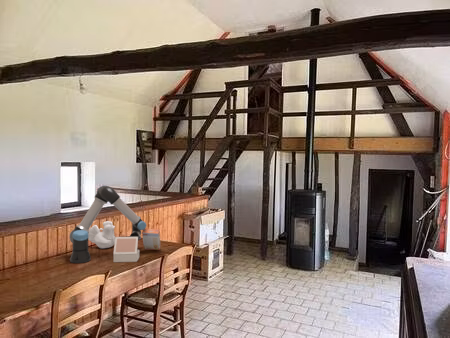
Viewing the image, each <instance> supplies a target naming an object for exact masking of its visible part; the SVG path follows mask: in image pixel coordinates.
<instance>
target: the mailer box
mask: <svg viewBox="0 0 450 338" xmlns="http://www.w3.org/2000/svg"><path fill="white" fill-rule="evenodd" d="M139 259H140V249H137V254H113V263H137V262H138V261H139Z"/></svg>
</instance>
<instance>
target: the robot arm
mask: <svg viewBox="0 0 450 338" xmlns="http://www.w3.org/2000/svg"><path fill="white" fill-rule="evenodd" d="M108 203H109V204H110V205H113V206H114V208H116V209H117V210H118V211H119V212H120V213H121V214H122V215H123V216H124V217H125V218H126V219H127V220H129V221H130V222H131V234H130V235H129V236H128V237H138V241H141V240H142V231H143V230H144V229H145V228H146V229H147V223H146V222H145V221H144V220H143V219H141V216H140V215H137V213H135V212H134V210H133V209H131V208H130V206H128V204H127V203H125V202H124V201H123V200H122V199H121V196H120V194H119V193H118V192H116V190H115V189H114V188H113V186H112V187H111V186H109V185H102V186H100V187H99V188H97V189H96V193H95V195H94V200H93V202H92V204H91V206H90V207H89V209H88V210H87V211H86V214H85V215H84V216H83V218H82V220H81V222H80V223H79V224H78V225H75V227H74V229H72V230H71V232H70V234H69V240H70V242H71V244H72V252H71V255H70V258H69V262H70V264H71V263H72V264H83V263H88V262H90V261H91V258H92V257H91V254H90V251H89V239H88V236H89V235H88V233H89V229H90V228H91V227H92V226H93V224H94V221H95V220H96V218H97V216H98V215H99V213H100V212H101V211H102V209H103V206H104V205H107V204H108Z"/></svg>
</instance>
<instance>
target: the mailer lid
mask: <svg viewBox="0 0 450 338" xmlns="http://www.w3.org/2000/svg"><path fill="white" fill-rule="evenodd" d="M138 242H139V240H138V237H129V236H115V244H114V245H113V246H114V247H113V255H114V254H137V250H138V244H139V243H138Z"/></svg>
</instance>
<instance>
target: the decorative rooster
mask: <svg viewBox="0 0 450 338" xmlns="http://www.w3.org/2000/svg"><path fill="white" fill-rule="evenodd" d="M102 225H103V227H100V228H99V227H98V225H97V224H94V225H91V227H90V228H89V233H88V235H89V236H88V242H89V241H90V242H91V243H92V244H93V243H94V244H95V245H96V246H97V247H98V248H99V249H108V248H111V247H113V246H114V245H115V237H116V236H115V228H116V226H115V225H113V222H112V221H110V220H106V221H103V223H102Z"/></svg>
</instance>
